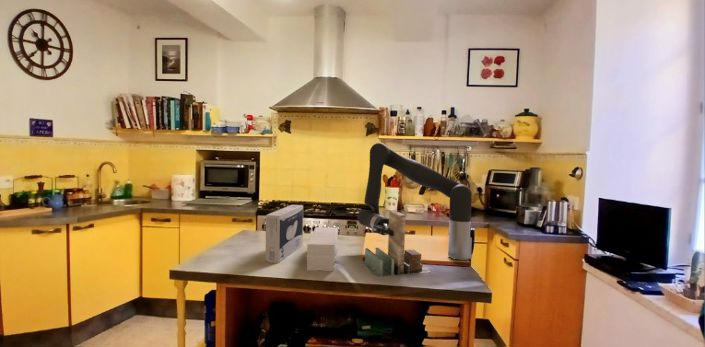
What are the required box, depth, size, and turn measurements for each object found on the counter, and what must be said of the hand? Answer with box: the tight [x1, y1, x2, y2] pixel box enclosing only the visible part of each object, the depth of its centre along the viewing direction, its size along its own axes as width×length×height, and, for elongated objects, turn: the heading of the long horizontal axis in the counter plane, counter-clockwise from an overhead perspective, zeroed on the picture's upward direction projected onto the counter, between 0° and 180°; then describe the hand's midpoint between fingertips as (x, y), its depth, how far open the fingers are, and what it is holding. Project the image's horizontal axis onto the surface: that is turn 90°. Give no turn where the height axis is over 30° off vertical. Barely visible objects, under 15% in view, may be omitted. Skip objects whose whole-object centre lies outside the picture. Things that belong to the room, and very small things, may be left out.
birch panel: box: [387, 210, 406, 272], centre depth 147 cm, size 2×10×22 cm, turn 17°
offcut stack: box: [404, 249, 423, 270], centre depth 149 cm, size 5×9×6 cm, turn 17°
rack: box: [363, 247, 433, 277], centre depth 148 cm, size 22×17×8 cm
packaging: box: [264, 204, 304, 264], centre depth 170 cm, size 30×6×20 cm, turn 168°
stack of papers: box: [306, 226, 339, 272], centre depth 162 cm, size 32×11×11 cm, turn 0°
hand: (397, 233), depth 146 cm, fingers open, 3 cm apart
